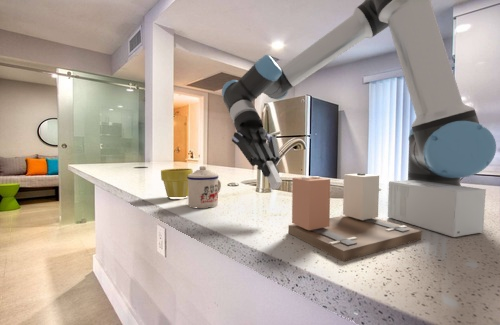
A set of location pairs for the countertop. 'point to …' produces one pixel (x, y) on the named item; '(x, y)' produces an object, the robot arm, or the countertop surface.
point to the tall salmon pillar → (311, 202)
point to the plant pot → (176, 181)
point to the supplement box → (437, 206)
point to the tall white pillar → (361, 196)
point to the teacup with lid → (203, 188)
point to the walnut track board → (356, 236)
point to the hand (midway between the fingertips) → (277, 185)
